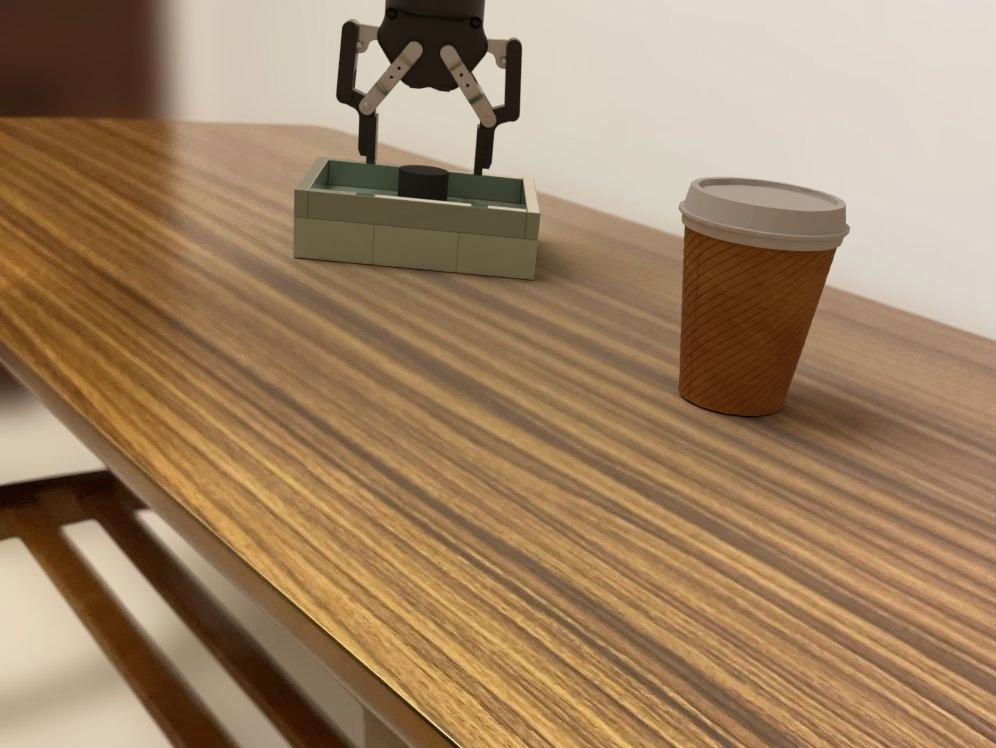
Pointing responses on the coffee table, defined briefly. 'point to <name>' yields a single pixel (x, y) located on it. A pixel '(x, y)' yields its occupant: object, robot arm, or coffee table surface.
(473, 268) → the green tray
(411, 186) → the stopper
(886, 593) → the coffee table surface
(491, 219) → the basin rim
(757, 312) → the disposable coffee cup
